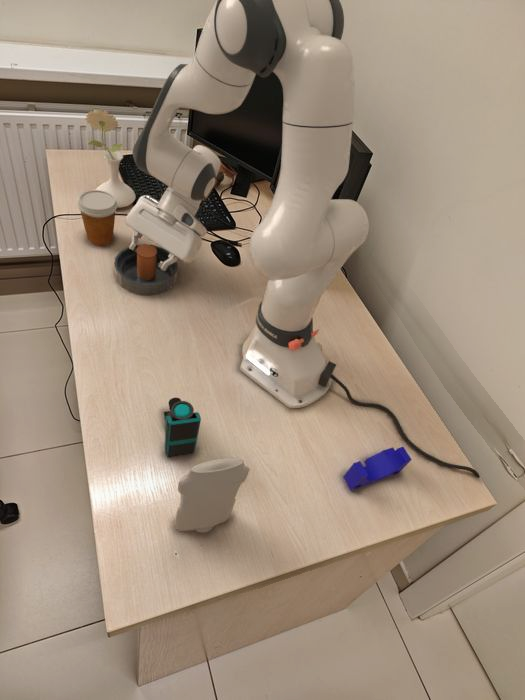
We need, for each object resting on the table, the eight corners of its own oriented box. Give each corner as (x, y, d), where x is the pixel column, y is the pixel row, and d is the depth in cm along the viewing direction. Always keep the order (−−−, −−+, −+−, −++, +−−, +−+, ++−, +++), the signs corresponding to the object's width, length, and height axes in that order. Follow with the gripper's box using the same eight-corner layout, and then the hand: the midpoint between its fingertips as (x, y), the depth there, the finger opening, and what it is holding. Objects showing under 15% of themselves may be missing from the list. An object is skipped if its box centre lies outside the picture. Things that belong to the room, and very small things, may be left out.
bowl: (188, 284, 119) (189, 272, 116) (135, 304, 110) (135, 292, 107) (156, 250, 125) (156, 238, 122) (103, 267, 116) (102, 254, 114)
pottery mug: (202, 174, 155) (216, 153, 152) (224, 191, 159) (239, 172, 155) (199, 183, 145) (214, 162, 142) (223, 202, 149) (239, 181, 145)
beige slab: (174, 539, 78) (183, 484, 61) (170, 515, 80) (177, 456, 64) (234, 525, 81) (258, 469, 65) (229, 503, 84) (250, 444, 67)
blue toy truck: (387, 454, 97) (399, 440, 93) (398, 473, 95) (411, 459, 90) (339, 470, 92) (349, 456, 88) (350, 490, 90) (361, 477, 86)
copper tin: (159, 277, 118) (160, 253, 112) (143, 283, 115) (143, 259, 109) (149, 266, 119) (150, 242, 114) (133, 271, 117) (132, 247, 111)
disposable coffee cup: (114, 253, 121) (112, 213, 112) (76, 246, 119) (71, 206, 110) (122, 232, 127) (121, 193, 118) (86, 225, 126) (82, 185, 117)
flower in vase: (141, 196, 139) (142, 112, 121) (125, 216, 132) (123, 128, 113) (100, 183, 139) (94, 97, 121) (82, 202, 132) (72, 112, 113)
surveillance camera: (191, 374, 85) (201, 420, 80) (186, 409, 94) (195, 453, 89) (160, 377, 84) (169, 425, 78) (158, 413, 93) (166, 458, 87)
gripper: (137, 186, 112) (108, 235, 113) (202, 226, 107) (171, 277, 108) (149, 196, 118) (122, 243, 119) (212, 234, 113) (183, 282, 114)
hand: (146, 259), depth 114 cm, fingers open, 8 cm apart
